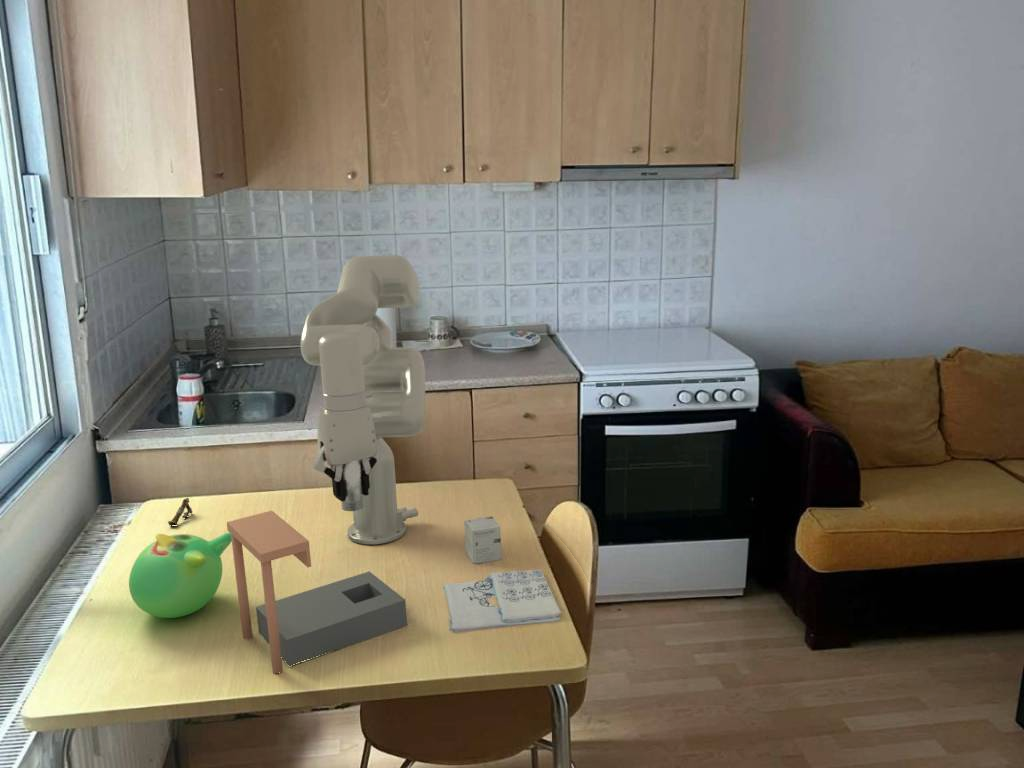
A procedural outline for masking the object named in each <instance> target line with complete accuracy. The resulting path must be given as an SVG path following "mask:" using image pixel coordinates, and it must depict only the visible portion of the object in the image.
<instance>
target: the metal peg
mask: <svg viewBox="0 0 1024 768" xmlns="http://www.w3.org/2000/svg"><path fill="white" fill-rule="evenodd" d="M341 478H342V480H343V481H344V484H345V497H346V500H345V501H343V502H342V501H341V509H342V511H345V512H353V511H357V510H360V509H362V508H363V507H364V502H363V488H362V475H361V461H359V460H357V461H352V462H349V463H347V464H343V465H342V475H341Z"/></svg>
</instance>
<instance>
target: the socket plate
mask: <svg viewBox="0 0 1024 768" xmlns="http://www.w3.org/2000/svg"><path fill="white" fill-rule="evenodd" d="M275 602H276V612H277V621H278V630H279V640H280V649H281V657H282V660H284V661H286V663H287V664H288V665H289V666H291V665H293V664H296V663H298V662H301V661H304V660H307V659H311V658H313V657H316V656H319V655H322V654H325V653H328V652H331V651H334V650H336V651H338V650H337V649H339V650H341V649H340V648H342V649H344V648H343V647H345V648H347V647H346V646H348V647H349V645H350V646H353V645H355V643H356V644H359V643H362V642H364V641H367V640H369V639H373V638H375V637H378V636H381V635H383V634H387V633H389V632H391V631H395V630H398V629H401V628H403V627H407V626H408V621H407V620H408V618H407V605H406V603H407V601H406V599H405V598H404V597H403V596H401V595H400V594H399V593H397V591H395V590H393V588H392V587H390V586H389V585H387V583H385V582H384V581H382V580H381V579H380V578H379V577H377V576H376V575H375V574H374V573H372V572H371V571H367V572H366V571H365V572H362V573H360V574H356V575H353V576H351V577H346V578H344V579H341V580H338V581H334V582H331V583H327V584H324V585H322V586H318V587H315V588H313V589H309V590H306V591H303V592H299V593H296V594H292V595H290V596H287V597H283V598H279V599H277V600H275ZM255 611H256V618H257V628H258V629H257V630H258V634H260V636H261V635H262V636H263V637H264V638H263V637H262V636H261V637H262V638H263V639H264V640H265V642H266V643H267V644H268V643H269V644H270V642H269V633H268V624H267V615H266V606H265V603H264V604H261V605H258V606H255ZM269 644H268V645H269ZM352 644H353V645H352ZM334 652H335V651H334ZM331 653H332V652H331ZM328 654H329V653H328ZM325 655H326V654H325ZM322 656H323V655H322ZM311 660H312V659H311ZM284 661H283V662H284ZM286 663H285V664H286ZM287 664H286V665H287ZM288 665H287V666H288ZM289 666H288V667H289Z"/></svg>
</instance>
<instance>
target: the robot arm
mask: <svg viewBox="0 0 1024 768" xmlns="http://www.w3.org/2000/svg"><path fill="white" fill-rule="evenodd" d="M341 271H342V272H341V274H340V280H339V283H338V288H337V291H336V293H335V294H333V295H331V296H329V297H328V298H326V299H324V300H323V301H322V302H320V303H318V304H317V305H315V306H314V307H313V308H312V309H311V310H310V312H309V313H308V314H307V316H306V318H305V321H304V325H303V328H302V332H301V335H300V336H301V337H300V352H301V357H302V358H303V360H304V361H305V362H306V363H307V364H309V365H311V366H318V367H320V374H321V384H322V385H321V387H322V401H323V408H322V409H320V410H319V414H318V422H317V456H316V457H315V460H314V462H313V464H312V468H313V469H314V470H315V471H318V472H319V473H322V474H324V475H326V476H327V477H329V478H330V479H331V484H332V495H333V496H334V497H335V498H336V499H337V500H339V501H340V502H341V503H342V502H343V501H345V500H346V497H345V484H344V481H343V480H342V478H341V475H342V465H343V464H347V463H349V462H352V461H357V460H359V461H361V475H362V488H363V502H364V507H363V508H362V509H360V510H357V511H352V514H353V523H352V524H351V525H350V526H349V527H348V529H347V537H348V539H349V540H351V541H352V542H354V543H357V544H361V545H382V544H386V543H390V542H394V541H396V540H398V539H400V538H401V537H403V536H404V535H405V534H406V532H407V527H406V526H407V525H406V523H405V521H407V519H412V518H416V517H418V516H419V510H418V509H417V507H413V508H409V509H408V507H406V506H403V507H401V508H398V497H397V485H396V483H397V482H396V470H395V469H396V468H395V467H396V466H395V456H394V453H393V450H392V448H391V447H390V445H389V444H387V442H386V441H385V439H383V438H400V437H402V438H403V437H404V438H405V437H413V436H417V435H419V434H420V433H422V431H423V430H424V427H425V420H426V419H425V418H426V371H425V370H426V368H425V361H424V358H423V354H422V353H421V352H420V351H419V350H418V349H417V348H414V347H406V346H405V347H392V331H391V329H390V328H389V326H388V325H387V324H386V322H385V321H384V319H382V318H381V317H380V316H379V315H378V314H377V312H378V309H394V308H395V309H396V308H399V309H400V308H401V309H403V308H410V307H412V306H415V305H416V303H417V302H418V299H419V296H420V295H419V294H420V286H419V285H420V283H419V279H418V277H417V274H416V272H415V270H414V268H413V265H412V264H411V262H410V261H409V260H408V259H407V258H406V257H404V256H401V255H398V254H396V255H395V254H388V255H362V256H355V257H353V258H351V259H349V260H348V261H347V262H346V263H345V264H344V266H343V268H342V270H341ZM325 462H326V463H327V465H329V467H328V466H326V465H325Z"/></svg>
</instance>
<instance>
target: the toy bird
mask: <svg viewBox="0 0 1024 768" xmlns="http://www.w3.org/2000/svg"><path fill="white" fill-rule="evenodd" d="M155 539H156V541H153V542H152V543H151V544H149V545H147V546H146V547H145V548H144V549H143V550H142V551H141V552H140V553H139V554H138V556H137V557H136V559H135V560H134V563H133V565H132V567H131V570H130V573H129V577H128V588H129V593H130V596H131V598H132V600H133V602H134V604H135V605H136V606H137V607H138V608H139V609H140V610H141V611H143V612H144V613H146V614H149V615H151V616H153V617H157V618H162V619H174V618H176V619H177V618H181V617H185V616H187V615H190V614H193V613H195V612H197V611H199V610H200V609H202V608H204V607H205V606H206V605H208V603H209V602H210V601H211V599H212V598H213V597H214V596H215V594H216V592H217V591H218V589H219V586H220V584H221V580H222V576H223V562H222V558H221V556H222V554H223V553H224V551H225V550H226V549H227V548H228V547H229V545H230V544H232V539H231V533H230V532H229V531H228V532H226V533H224V534H221V535H218V536H217V537H215V538H213V539H211V540H209V541H208V540H207V539H204V538H202V537H200V536H197V535H194V534H172V535H167V534H164V533H157V534H156V535H155Z"/></svg>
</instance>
